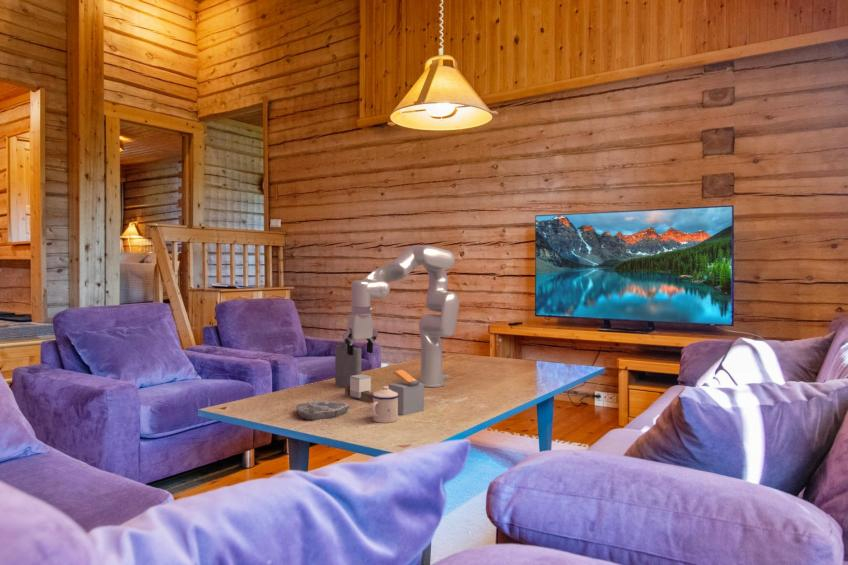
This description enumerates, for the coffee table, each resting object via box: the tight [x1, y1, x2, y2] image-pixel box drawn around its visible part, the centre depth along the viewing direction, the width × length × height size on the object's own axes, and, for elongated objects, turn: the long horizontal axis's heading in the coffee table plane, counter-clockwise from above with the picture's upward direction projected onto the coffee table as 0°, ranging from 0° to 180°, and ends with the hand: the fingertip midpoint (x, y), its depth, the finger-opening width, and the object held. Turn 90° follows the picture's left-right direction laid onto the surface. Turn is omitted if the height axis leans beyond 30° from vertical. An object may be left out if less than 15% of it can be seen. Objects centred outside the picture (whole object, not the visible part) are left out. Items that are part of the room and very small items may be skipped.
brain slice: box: [295, 400, 351, 421], centre depth 212 cm, size 20×17×3 cm
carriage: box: [350, 373, 372, 398], centre depth 238 cm, size 6×6×8 cm
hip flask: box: [334, 340, 362, 389], centre depth 259 cm, size 16×4×20 cm, turn 47°
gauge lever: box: [393, 369, 420, 386], centre depth 218 cm, size 4×10×2 cm, turn 44°
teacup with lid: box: [370, 385, 399, 424], centre depth 204 cm, size 12×9×12 cm
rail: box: [344, 384, 374, 404], centre depth 232 cm, size 5×30×4 cm, turn 44°
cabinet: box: [388, 381, 425, 416], centre depth 218 cm, size 10×8×10 cm
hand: (360, 353), depth 237 cm, fingers open, 9 cm apart
